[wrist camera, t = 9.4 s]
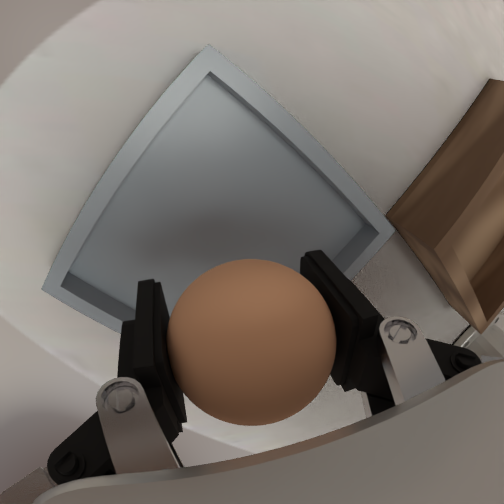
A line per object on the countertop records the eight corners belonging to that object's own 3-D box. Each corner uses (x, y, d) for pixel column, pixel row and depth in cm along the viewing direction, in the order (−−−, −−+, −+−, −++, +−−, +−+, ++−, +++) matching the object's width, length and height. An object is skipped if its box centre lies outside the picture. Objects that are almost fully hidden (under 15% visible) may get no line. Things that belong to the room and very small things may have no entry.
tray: (376, 216, 18) (395, 230, 16) (235, 363, 20) (241, 385, 19) (203, 51, 11) (208, 43, 10) (52, 268, 14) (41, 289, 12)
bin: (527, 197, 21) (560, 216, 17) (450, 305, 24) (481, 334, 20) (489, 78, 15) (538, 88, 11) (385, 215, 18) (433, 249, 14)
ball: (324, 277, 12) (396, 368, 8) (241, 361, 13) (275, 461, 9) (225, 201, 10) (276, 296, 5) (137, 312, 11) (135, 433, 6)
